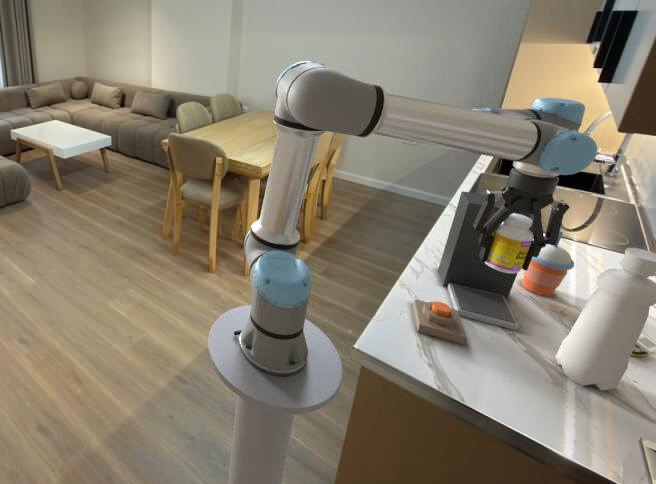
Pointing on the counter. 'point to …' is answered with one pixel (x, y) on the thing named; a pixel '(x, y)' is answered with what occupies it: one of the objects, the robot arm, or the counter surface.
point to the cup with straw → (547, 269)
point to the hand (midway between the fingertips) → (502, 262)
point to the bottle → (610, 323)
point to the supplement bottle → (510, 244)
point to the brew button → (441, 309)
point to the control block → (438, 322)
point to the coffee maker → (475, 268)
